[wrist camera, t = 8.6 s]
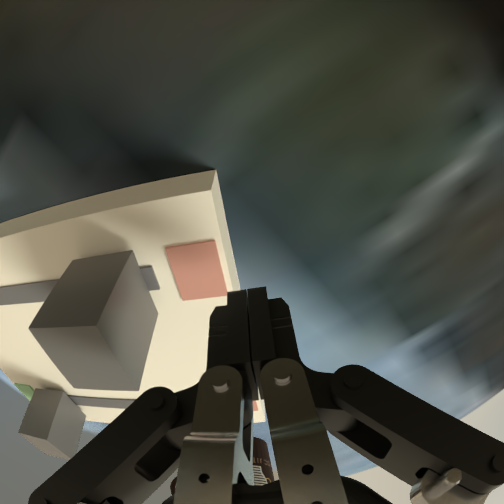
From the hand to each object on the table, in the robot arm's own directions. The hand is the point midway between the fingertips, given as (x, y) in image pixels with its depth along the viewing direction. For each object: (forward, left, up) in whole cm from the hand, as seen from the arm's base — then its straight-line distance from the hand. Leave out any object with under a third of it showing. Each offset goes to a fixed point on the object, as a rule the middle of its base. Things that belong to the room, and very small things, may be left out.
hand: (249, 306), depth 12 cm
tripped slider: (+7, 0, -3) cm, 7 cm away
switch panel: (+13, +6, -6) cm, 16 cm away
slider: (+19, +12, -3) cm, 23 cm away
